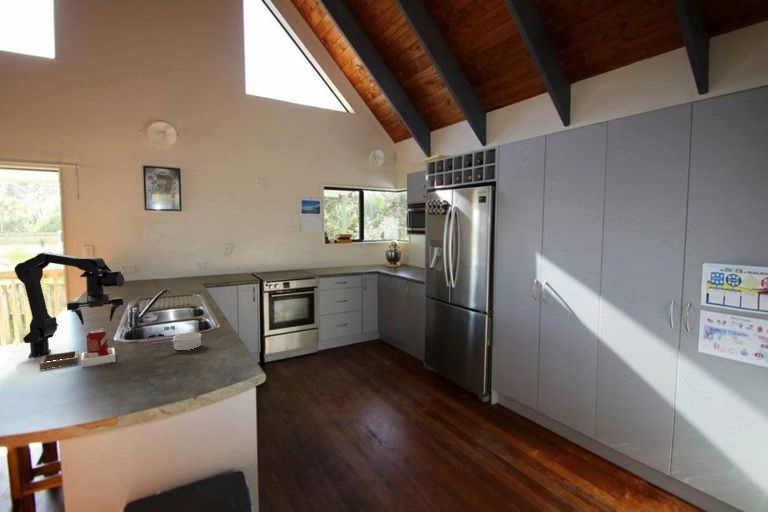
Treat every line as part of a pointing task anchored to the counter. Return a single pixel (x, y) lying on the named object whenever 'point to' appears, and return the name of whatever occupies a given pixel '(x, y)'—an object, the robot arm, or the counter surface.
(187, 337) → the saucepan
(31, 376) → the counter surface
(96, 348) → the soda can
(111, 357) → the rimmed tray
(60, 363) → the walnut holder
